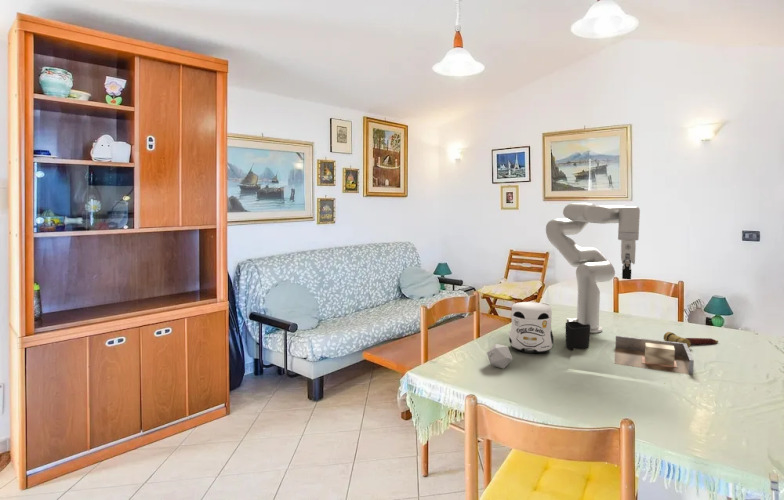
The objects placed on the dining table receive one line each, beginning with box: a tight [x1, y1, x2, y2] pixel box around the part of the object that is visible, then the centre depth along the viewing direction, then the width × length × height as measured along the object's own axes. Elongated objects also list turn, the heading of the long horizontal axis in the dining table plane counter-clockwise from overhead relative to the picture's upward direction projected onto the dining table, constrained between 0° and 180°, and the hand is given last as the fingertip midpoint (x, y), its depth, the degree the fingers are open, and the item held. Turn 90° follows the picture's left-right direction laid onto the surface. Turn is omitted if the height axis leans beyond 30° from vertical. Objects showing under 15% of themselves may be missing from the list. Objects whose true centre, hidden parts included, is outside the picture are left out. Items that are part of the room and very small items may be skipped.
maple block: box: [645, 343, 675, 366], centre depth 164 cm, size 9×5×6 cm, turn 62°
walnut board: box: [614, 348, 693, 376], centre depth 167 cm, size 24×20×1 cm
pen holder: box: [565, 321, 591, 351], centre depth 184 cm, size 9×9×10 cm
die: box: [486, 343, 513, 369], centre depth 166 cm, size 8×9×10 cm
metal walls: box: [614, 335, 695, 376], centre depth 167 cm, size 24×20×5 cm
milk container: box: [508, 301, 554, 354], centre depth 183 cm, size 17×17×18 cm
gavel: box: [663, 331, 719, 349], centre depth 187 cm, size 21×5×10 cm
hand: (626, 277), depth 186 cm, fingers open, 9 cm apart
